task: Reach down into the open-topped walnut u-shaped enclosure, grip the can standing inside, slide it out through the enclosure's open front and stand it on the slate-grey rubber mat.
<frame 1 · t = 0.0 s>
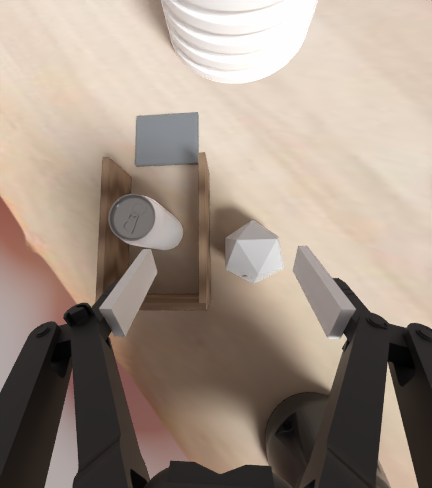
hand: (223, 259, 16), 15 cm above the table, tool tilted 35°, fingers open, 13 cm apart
walnut u-shaped enclosure: (166, 235, 33), on the table
can: (166, 233, 33), resting in walnut u-shaped enclosure
plate stack: (237, 22, 36), on the table
die: (249, 253, 32), on the table
slate mat: (167, 140, 34), on the table
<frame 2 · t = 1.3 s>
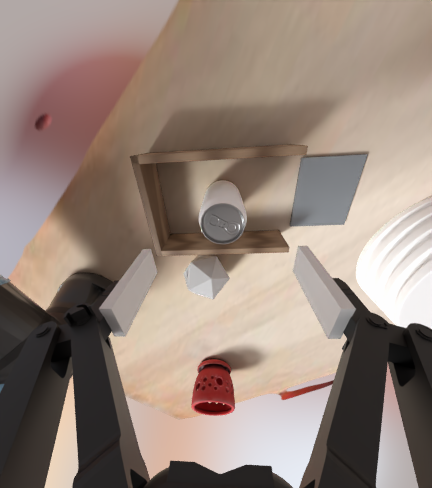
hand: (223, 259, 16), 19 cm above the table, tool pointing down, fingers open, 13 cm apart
walnut u-shaped enclosure: (219, 198, 33), on the table
can: (222, 197, 33), resting in walnut u-shaped enclosure
plant pot: (214, 365, 63), on the table
plate stack: (427, 253, 38), on the table
die: (207, 263, 41), on the table
slate mat: (323, 193, 32), on the table
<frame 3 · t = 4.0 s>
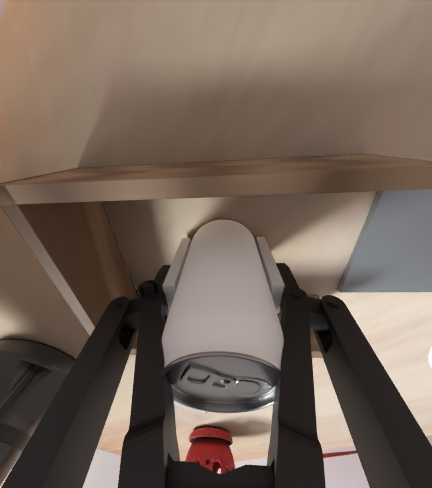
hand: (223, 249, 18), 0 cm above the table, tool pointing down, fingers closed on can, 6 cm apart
walnut u-shaped enclosure: (218, 247, 18), on the table
can: (223, 245, 18), resting in walnut u-shaped enclosure, touching gripper
plant pot: (211, 431, 49), on the table
slate mat: (410, 243, 17), on the table
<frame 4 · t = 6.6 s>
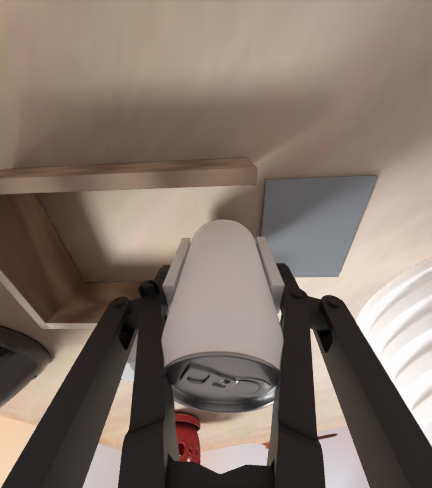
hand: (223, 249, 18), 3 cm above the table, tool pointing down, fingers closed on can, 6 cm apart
walnut u-shaped enclosure: (145, 237, 21), on the table
can: (223, 245, 18), point 2 cm above the table, touching gripper
plant pot: (181, 417, 52), on the table
die: (147, 317, 29), on the table
slate mat: (305, 233, 20), on the table
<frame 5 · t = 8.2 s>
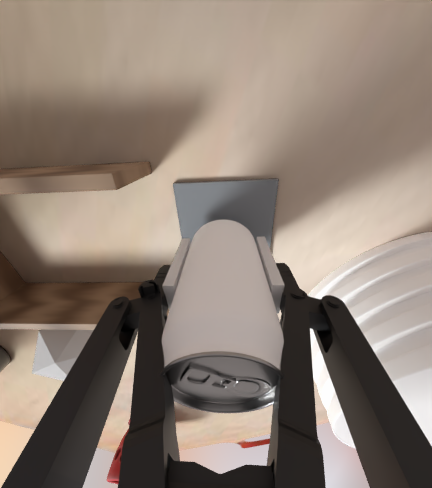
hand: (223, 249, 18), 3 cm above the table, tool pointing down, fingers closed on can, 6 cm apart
walnut u-shaped enclosure: (72, 238, 21), on the table
can: (223, 245, 18), point 2 cm above the table, touching gripper
plant pot: (151, 416, 52), on the table
plate stack: (393, 313, 26), on the table
die: (94, 317, 29), on the table
slate mat: (225, 235, 20), on the table
when the fingers open (2 cm above the table, at t = 9.4 s): can stays where it is, resting on slate mat.
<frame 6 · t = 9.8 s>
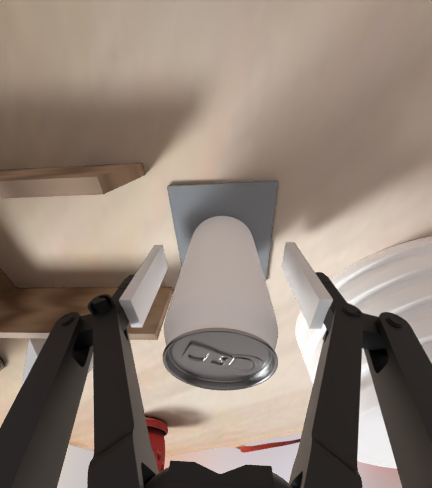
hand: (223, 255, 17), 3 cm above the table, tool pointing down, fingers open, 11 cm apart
walnut u-shaped enclosure: (63, 243, 21), on the table
can: (222, 241, 19), resting on slate mat
plant pot: (149, 421, 52), on the table
plate stack: (396, 318, 25), on the table
die: (89, 323, 29), on the table
slate mat: (223, 239, 19), on the table
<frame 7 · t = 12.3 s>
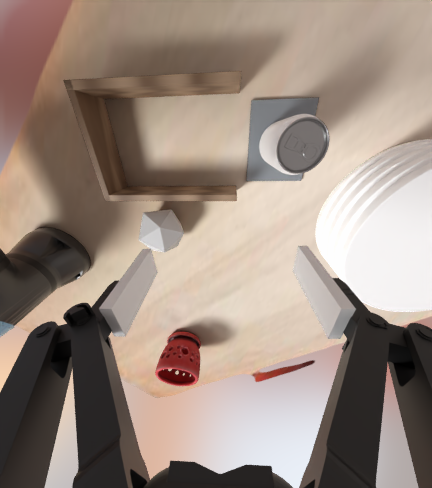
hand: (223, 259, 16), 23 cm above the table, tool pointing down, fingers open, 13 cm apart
walnut u-shaped enclosure: (172, 146, 32), on the table
can: (277, 144, 30), resting on slate mat
plant pot: (185, 338, 63), on the table
plate stack: (388, 218, 36), on the table
die: (167, 222, 40), on the table
slate mat: (278, 143, 31), on the table
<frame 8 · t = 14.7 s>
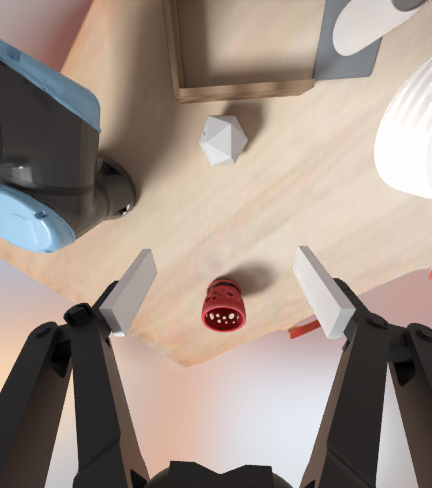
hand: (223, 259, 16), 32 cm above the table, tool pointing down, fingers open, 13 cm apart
walnut u-shaped enclosure: (240, 41, 31), on the table
can: (351, 30, 30), resting on slate mat
plant pot: (223, 289, 62), on the table
die: (222, 141, 39), on the table
slate mat: (350, 31, 30), on the table
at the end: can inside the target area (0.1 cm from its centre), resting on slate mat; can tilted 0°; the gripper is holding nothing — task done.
